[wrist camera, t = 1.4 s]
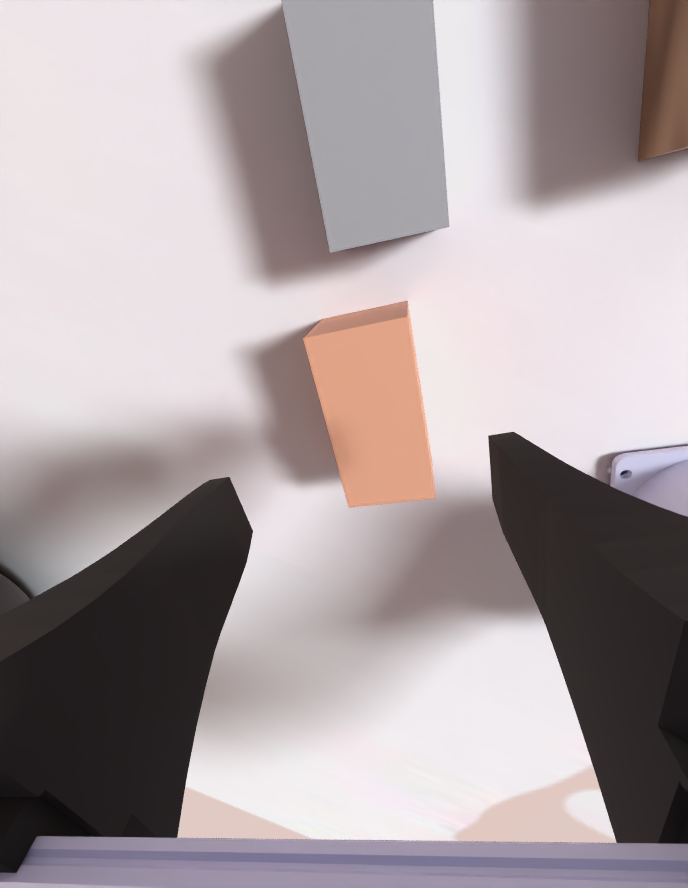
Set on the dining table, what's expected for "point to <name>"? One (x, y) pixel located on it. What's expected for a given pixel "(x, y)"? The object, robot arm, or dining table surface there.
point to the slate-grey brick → (371, 115)
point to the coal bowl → (10, 595)
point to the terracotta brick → (373, 404)
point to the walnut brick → (665, 81)
